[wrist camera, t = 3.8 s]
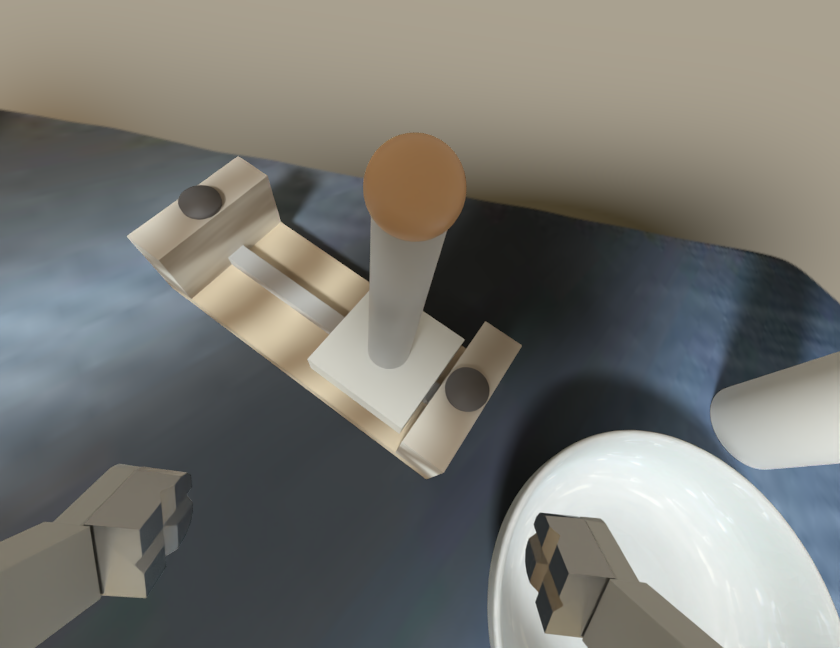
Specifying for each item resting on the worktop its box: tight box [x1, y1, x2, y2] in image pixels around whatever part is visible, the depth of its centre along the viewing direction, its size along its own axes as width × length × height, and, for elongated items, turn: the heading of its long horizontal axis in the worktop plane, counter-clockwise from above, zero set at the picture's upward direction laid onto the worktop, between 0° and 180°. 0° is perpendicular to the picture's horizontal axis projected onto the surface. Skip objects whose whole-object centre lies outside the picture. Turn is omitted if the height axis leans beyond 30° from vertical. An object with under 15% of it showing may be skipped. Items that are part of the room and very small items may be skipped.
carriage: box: [307, 133, 466, 434], centre depth 21 cm, size 8×8×20 cm
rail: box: [127, 156, 522, 479], centre depth 30 cm, size 26×10×7 cm, turn 55°
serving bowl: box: [487, 430, 840, 648], centre depth 24 cm, size 21×21×7 cm
